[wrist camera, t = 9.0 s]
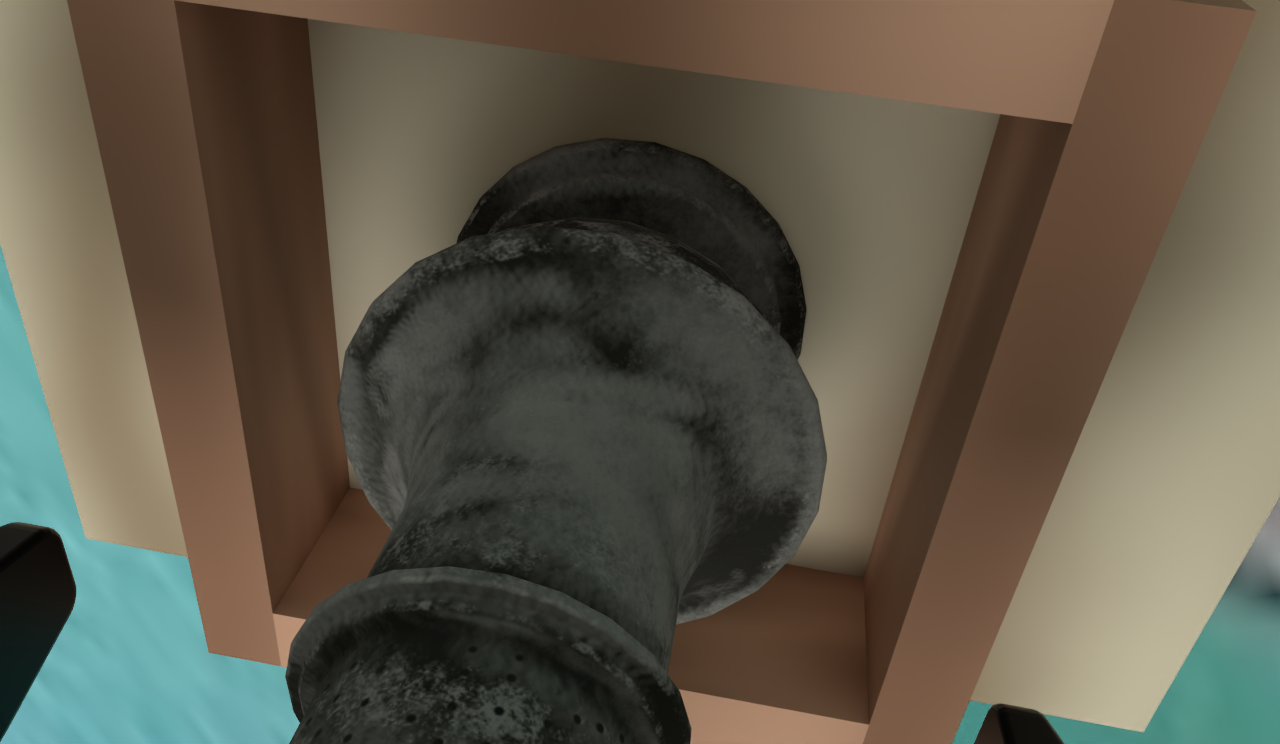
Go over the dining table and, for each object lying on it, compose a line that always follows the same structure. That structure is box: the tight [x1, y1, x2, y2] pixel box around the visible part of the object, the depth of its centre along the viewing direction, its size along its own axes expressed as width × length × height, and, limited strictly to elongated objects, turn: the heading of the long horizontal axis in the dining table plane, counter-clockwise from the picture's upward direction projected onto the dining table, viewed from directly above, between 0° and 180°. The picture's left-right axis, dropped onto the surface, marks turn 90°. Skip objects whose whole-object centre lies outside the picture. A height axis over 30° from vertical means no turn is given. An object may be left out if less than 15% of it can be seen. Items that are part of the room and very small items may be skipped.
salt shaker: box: [285, 138, 827, 744], centre depth 10 cm, size 6×6×12 cm
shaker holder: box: [0, 0, 1280, 744], centre depth 14 cm, size 20×14×4 cm
